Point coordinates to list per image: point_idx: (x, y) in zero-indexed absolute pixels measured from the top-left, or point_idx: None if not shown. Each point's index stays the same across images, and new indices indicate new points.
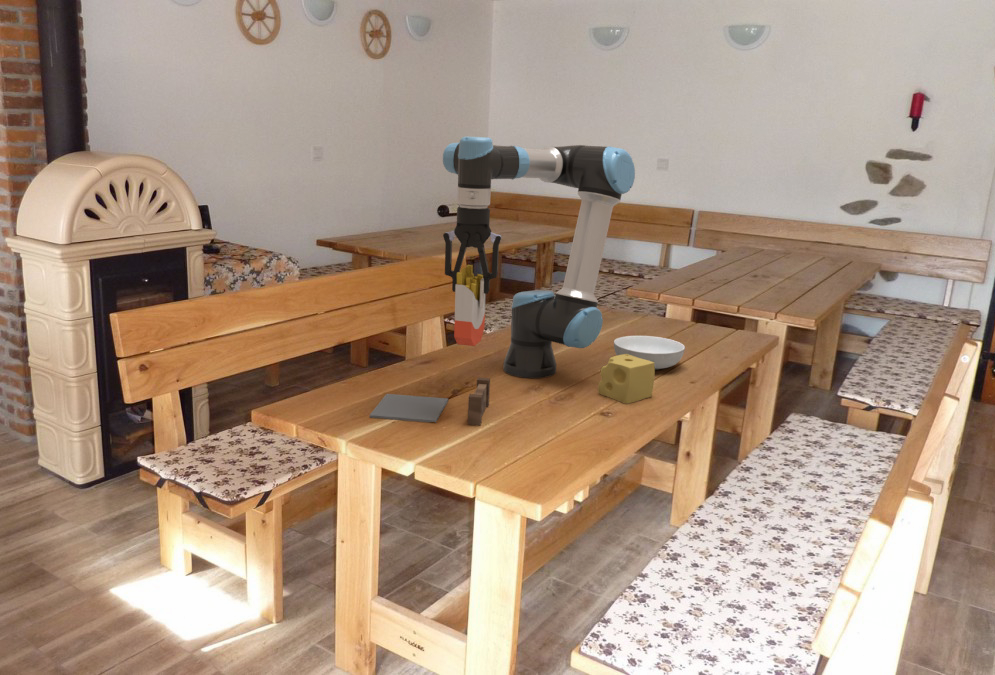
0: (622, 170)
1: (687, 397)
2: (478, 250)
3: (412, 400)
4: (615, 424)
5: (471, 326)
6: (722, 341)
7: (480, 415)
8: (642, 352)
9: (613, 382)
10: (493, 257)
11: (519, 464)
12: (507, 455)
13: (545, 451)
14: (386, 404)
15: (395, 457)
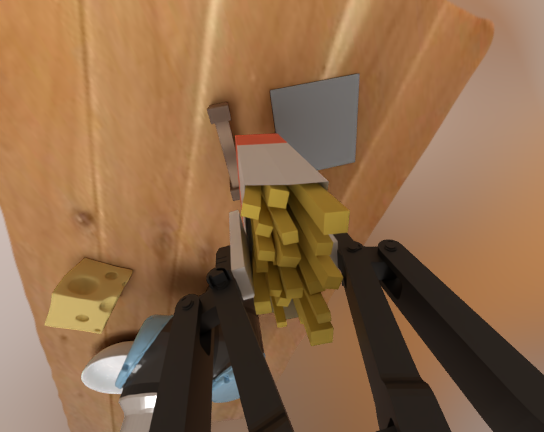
0: None
1: (36, 303)
2: (284, 428)
3: (320, 152)
4: (48, 189)
5: (236, 142)
6: (108, 417)
7: (209, 106)
8: (115, 356)
9: (100, 279)
10: (179, 406)
11: None
12: None
13: (62, 29)
14: (347, 124)
15: None
